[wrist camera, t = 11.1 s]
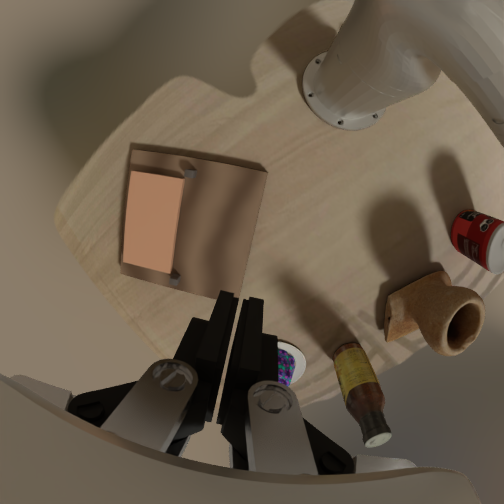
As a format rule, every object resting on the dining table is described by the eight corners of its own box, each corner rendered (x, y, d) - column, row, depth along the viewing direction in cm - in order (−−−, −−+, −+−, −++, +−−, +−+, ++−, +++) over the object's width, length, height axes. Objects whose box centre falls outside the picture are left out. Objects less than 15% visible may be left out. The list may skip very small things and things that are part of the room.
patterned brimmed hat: (317, 351, 46) (321, 370, 41) (286, 391, 49) (287, 410, 44) (257, 329, 45) (255, 348, 40) (231, 373, 48) (227, 393, 44)
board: (267, 172, 36) (267, 173, 33) (238, 299, 43) (236, 310, 40) (136, 149, 36) (126, 149, 33) (124, 270, 42) (115, 277, 39)
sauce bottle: (325, 356, 46) (344, 446, 27) (350, 335, 44) (383, 423, 25) (346, 371, 47) (369, 454, 28) (371, 351, 45) (405, 433, 26)
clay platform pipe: (445, 251, 38) (498, 287, 24) (447, 306, 41) (489, 350, 27) (372, 282, 40) (411, 335, 26) (381, 336, 44) (411, 393, 30)
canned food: (482, 215, 35) (521, 230, 25) (470, 255, 38) (506, 278, 27) (456, 202, 35) (498, 217, 25) (444, 246, 38) (482, 270, 27)
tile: (131, 170, 34) (134, 170, 35) (123, 261, 39) (126, 259, 40) (183, 179, 34) (185, 178, 36) (170, 273, 39) (172, 270, 40)
